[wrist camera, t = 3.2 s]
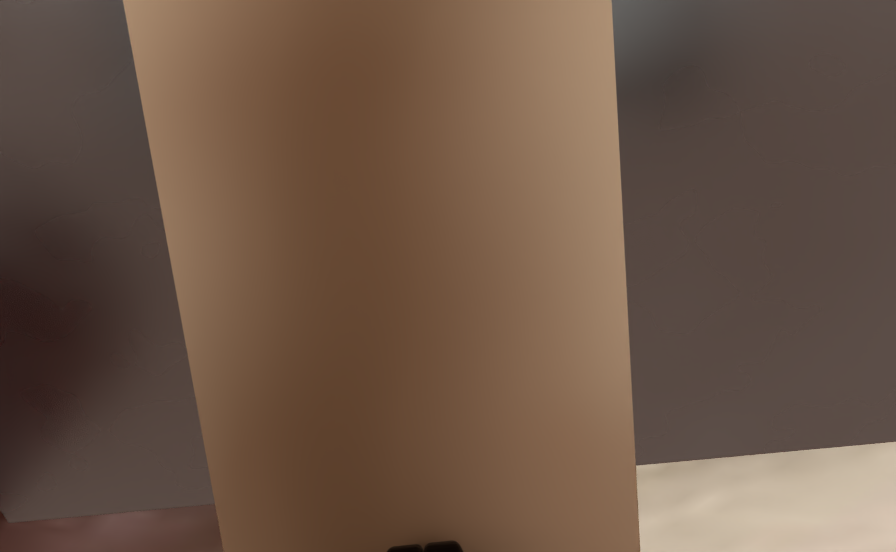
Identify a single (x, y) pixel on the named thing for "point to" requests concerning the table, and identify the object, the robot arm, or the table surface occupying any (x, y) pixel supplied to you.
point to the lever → (398, 267)
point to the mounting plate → (645, 242)
